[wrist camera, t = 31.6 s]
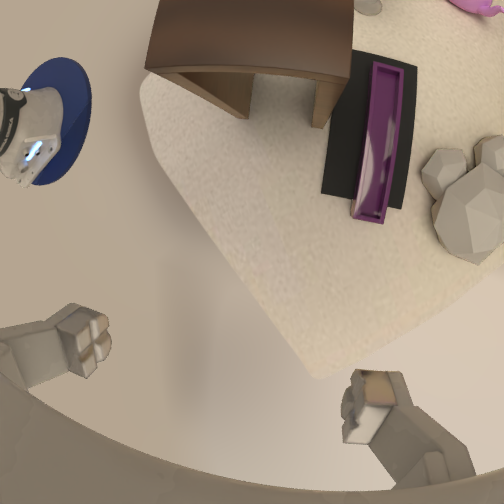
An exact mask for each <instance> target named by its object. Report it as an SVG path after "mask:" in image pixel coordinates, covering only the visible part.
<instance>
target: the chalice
mask: <svg viewBox="0 0 504 504" xmlns="http://www.w3.org/2000/svg"><path fill="white" fill-rule="evenodd" d="M354 9H356V10H357V11H358V12H360V13H362V14H365V15H376V14H378V13H380V12H381V10H382V4H381V1H380V0H354Z"/></svg>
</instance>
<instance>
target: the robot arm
mask: <svg viewBox="0 0 504 504" xmlns="http://www.w3.org/2000/svg"><path fill="white" fill-rule="evenodd" d="M62 120H63V102H62V98H61V96H60V94H59V92H58V91H57V90H56V89H55V88H52V87H46V88H42V89H37V90H30V88H26V89H24V90H16V89H8V88H0V171H1V172H2V174H3V175H4V176H6V177H7V178H10V179H15V181H16V182H17V183H18V184H19V185H20V186H21V187H23V188H28V187H29V186H30V184H31V183H32V182H33V181H34V180H35V178H36V177H37V176H38V175H39V173H40V172H41V171H42V170H43V168H44V167H45V166H46V165H47V164H48V162H49V161H50V160H51V159H52V158H53V157H54V156H55V154H56V153H57V152H58V151H59V150H60V147H61V135H60V131H61V126H62ZM52 149H53V150H52ZM108 327H109V321H108V317H107V316H106V315H105V314H102V313H100V312H97V311H94V310H92V309H89V308H86V307H83V306H81V305H78V304H75V303H70V304H68V305H67V306H65V307H64V308H62V309H61V310H60V311H58V312H57V313H55V314H54V315H52V316H51V317H50V318H48V319H47V320H46V321H36V322H31V323H26V324H21V325H16V326H11V327H6V328H1V329H0V504H504V468H501V469H498V470H495V471H491V472H488V473H485V474H481V475H477V476H476V473H475V469H474V467H473V464H472V461H471V458H470V455H469V452H468V450H467V447H466V446H465V445H464V444H463V443H462V442H460V441H459V440H458V439H457V438H455V437H454V436H453V435H452V434H450V433H449V432H448V431H447V430H446V429H445V428H443V427H442V426H441V425H440V424H439V423H437V422H436V421H435V420H433V418H431V417H430V416H429V415H428V414H427V413H425V412H424V411H423V410H422V409H420V408H419V407H418V406H413V403H412V400H411V397H410V394H409V391H408V388H407V385H406V383H405V380H404V377H403V375H402V373H401V372H399V371H374V370H363V369H355V371H354V372H353V374H352V376H351V386H350V387H348V388H347V389H346V390H345V393H344V396H343V399H342V404H341V417H342V418H343V419H344V420H345V422H344V424H343V426H342V435H343V443H348V444H365V445H366V444H367V445H369V447H370V449H371V450H372V451H373V453H374V454H375V455H376V457H377V458H378V459H379V461H380V462H381V463H382V465H383V466H384V467H385V469H386V470H387V472H388V473H389V474H390V476H391V477H392V478H393V480H394V481H395V482H396V485H395V486H394V487H393V488H392V489H391V490H381V491H319V490H305V489H294V488H285V487H277V486H270V485H263V484H257V483H251V482H246V481H240V480H235V479H231V478H226V477H222V476H217V475H213V474H209V473H205V472H202V471H198V470H194V469H191V468H187V467H184V466H181V465H178V464H174V463H171V462H168V461H165V460H162V459H160V458H157V457H154V456H151V455H149V454H146V453H143V452H141V451H138V450H136V449H133V448H131V447H128V446H126V445H124V444H121V443H119V442H117V441H114V440H112V439H110V438H108V437H106V436H104V435H102V434H99V433H97V432H95V431H93V430H91V429H89V428H87V427H85V426H83V425H82V424H80V423H78V422H76V421H74V420H72V419H71V418H69V417H67V416H65V415H63V414H62V413H60V412H58V411H57V410H55V409H53V408H52V407H50V406H48V405H47V404H45V403H44V402H42V401H41V400H39V399H37V398H36V397H34V396H32V395H31V394H30V393H29V392H28V388H30V387H33V386H36V385H38V384H41V383H43V382H45V381H48V380H50V379H53V378H55V377H57V376H60V375H62V374H64V373H67V372H68V371H70V372H73V373H75V374H77V375H79V376H82V377H84V378H86V379H87V378H88V377H89V376H90V375H91V374H92V373H93V372H94V371H95V370H96V368H97V363H98V362H101V361H104V360H105V359H106V358H107V356H108V355H109V352H110V350H111V344H112V341H111V336H110V334H109V333H108V331H107V328H108Z"/></svg>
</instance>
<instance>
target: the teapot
mask: <svg viewBox="0 0 504 504" xmlns="http://www.w3.org/2000/svg"><path fill="white" fill-rule="evenodd" d="M449 1H450V2H452V3H453V4H454V5H456V6H457V7H459V8H461V9H463V10H465V11H468V12H471V13H476V14H481V15H484V16H487V17H492V16H495V15H496V14H498V13H500V12H502V13H504V8H503V7H501V6H498V5H497V6H494V7H491V8H490V6H491V4H492V0H449Z"/></svg>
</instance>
